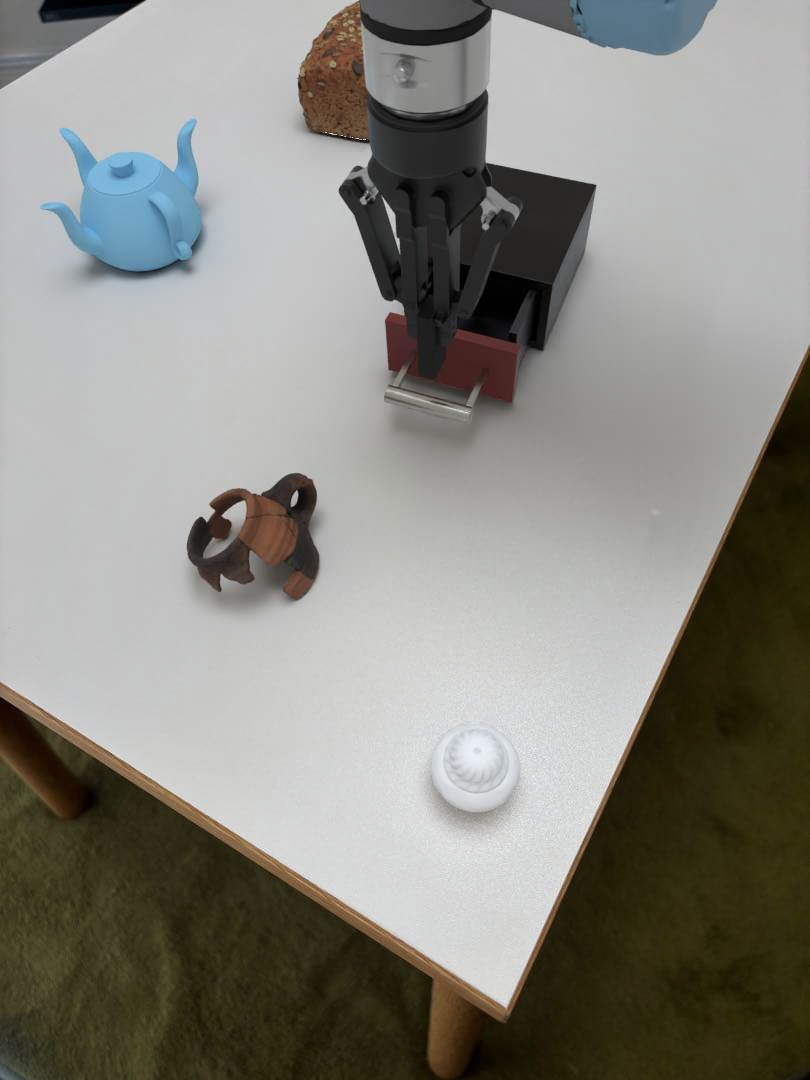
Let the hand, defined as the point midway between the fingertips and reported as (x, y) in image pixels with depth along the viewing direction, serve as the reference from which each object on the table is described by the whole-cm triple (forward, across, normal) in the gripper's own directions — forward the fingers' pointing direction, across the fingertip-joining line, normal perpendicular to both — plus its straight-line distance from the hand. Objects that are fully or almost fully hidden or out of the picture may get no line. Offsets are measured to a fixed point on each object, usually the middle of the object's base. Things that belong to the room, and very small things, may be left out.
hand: (432, 366), depth 70 cm
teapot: (+8, -41, +15) cm, 45 cm away
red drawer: (+7, 0, +9) cm, 12 cm away
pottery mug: (+9, -8, -18) cm, 21 cm away
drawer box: (+8, 0, +21) cm, 23 cm away
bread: (+8, -28, +49) cm, 57 cm away
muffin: (+9, +14, -30) cm, 34 cm away
